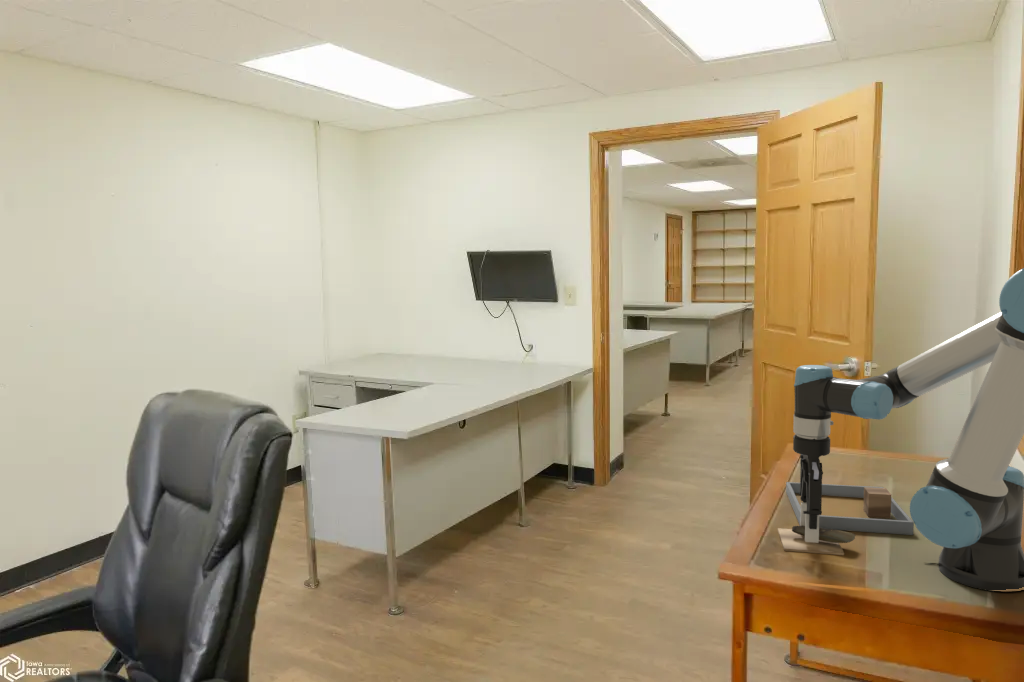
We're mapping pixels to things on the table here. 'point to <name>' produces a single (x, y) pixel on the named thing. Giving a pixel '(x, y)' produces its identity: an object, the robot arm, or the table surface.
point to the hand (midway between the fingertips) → (809, 535)
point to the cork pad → (806, 544)
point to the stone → (828, 534)
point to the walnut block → (877, 502)
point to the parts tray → (852, 523)
